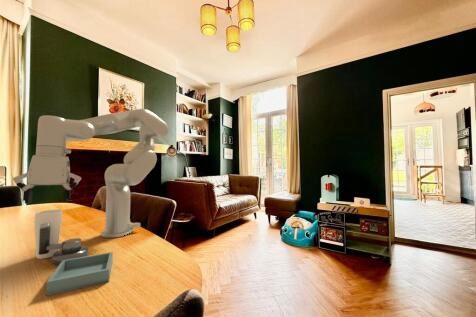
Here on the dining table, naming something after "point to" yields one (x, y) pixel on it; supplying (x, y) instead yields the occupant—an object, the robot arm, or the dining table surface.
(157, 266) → the dining table surface
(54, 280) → the tray
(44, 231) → the crank
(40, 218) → the drinking glass
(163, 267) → the dining table surface
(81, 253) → the crank stand
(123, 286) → the dining table surface
